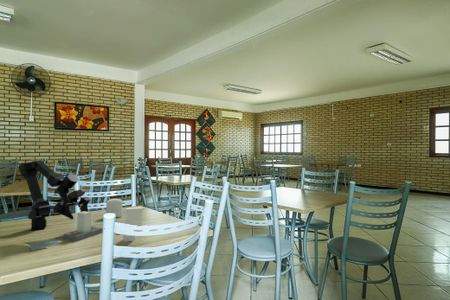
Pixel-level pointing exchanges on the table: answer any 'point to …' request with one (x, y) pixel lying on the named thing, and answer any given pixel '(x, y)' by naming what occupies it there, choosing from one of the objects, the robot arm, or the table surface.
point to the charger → (83, 222)
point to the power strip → (82, 234)
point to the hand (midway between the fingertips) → (80, 216)
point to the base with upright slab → (134, 216)
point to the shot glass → (128, 238)
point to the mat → (43, 244)
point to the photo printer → (114, 207)
